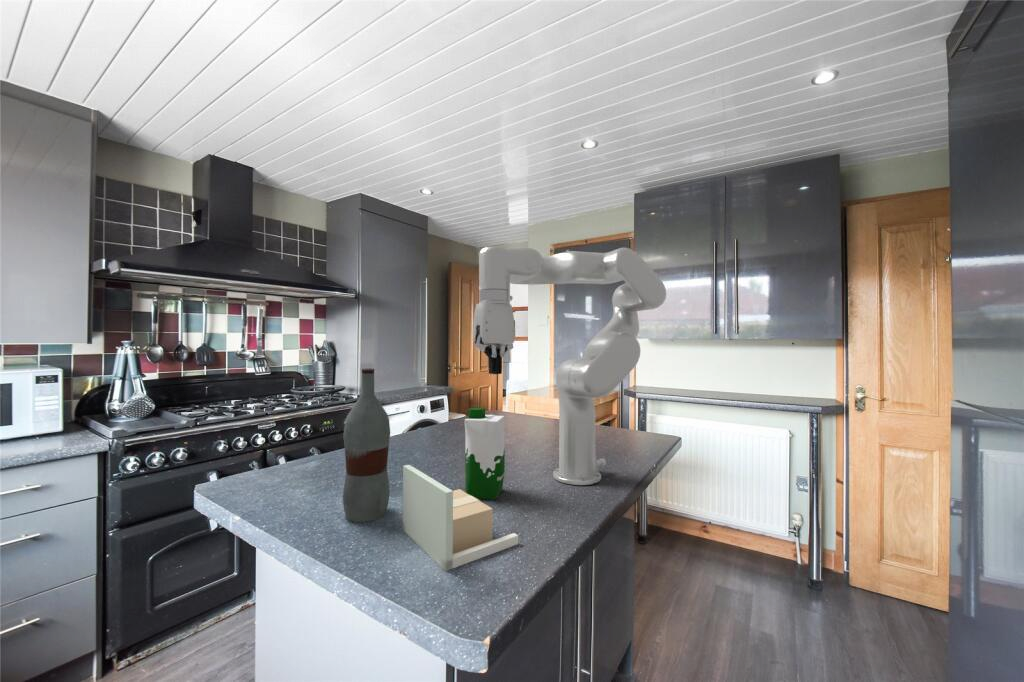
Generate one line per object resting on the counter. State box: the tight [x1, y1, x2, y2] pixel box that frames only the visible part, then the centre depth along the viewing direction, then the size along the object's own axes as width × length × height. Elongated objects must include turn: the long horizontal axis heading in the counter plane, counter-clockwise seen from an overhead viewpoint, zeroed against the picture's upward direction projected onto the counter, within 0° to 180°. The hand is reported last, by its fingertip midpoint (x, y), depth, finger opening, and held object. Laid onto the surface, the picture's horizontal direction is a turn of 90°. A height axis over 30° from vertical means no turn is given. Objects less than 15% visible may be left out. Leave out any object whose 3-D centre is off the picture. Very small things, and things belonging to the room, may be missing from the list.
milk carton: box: [463, 406, 506, 501], centre depth 93 cm, size 9×9×20 cm
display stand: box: [402, 464, 519, 572], centre depth 72 cm, size 14×17×12 cm
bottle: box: [342, 367, 391, 523], centre depth 82 cm, size 9×9×30 cm
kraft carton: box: [452, 488, 494, 554], centre depth 72 cm, size 10×12×6 cm
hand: (495, 373), depth 96 cm, fingers closed
